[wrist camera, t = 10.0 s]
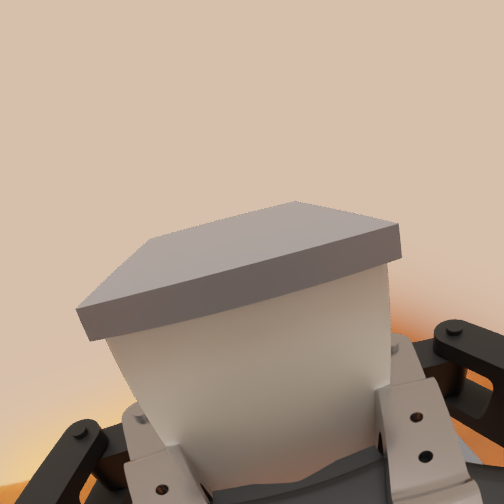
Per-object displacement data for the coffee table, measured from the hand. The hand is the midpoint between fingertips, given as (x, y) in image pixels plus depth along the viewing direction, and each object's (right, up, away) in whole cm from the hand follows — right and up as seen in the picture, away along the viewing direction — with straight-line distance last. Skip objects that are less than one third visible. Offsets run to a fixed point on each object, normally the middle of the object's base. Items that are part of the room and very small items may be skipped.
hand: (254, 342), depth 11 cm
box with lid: (+2, -6, -1) cm, 7 cm away
